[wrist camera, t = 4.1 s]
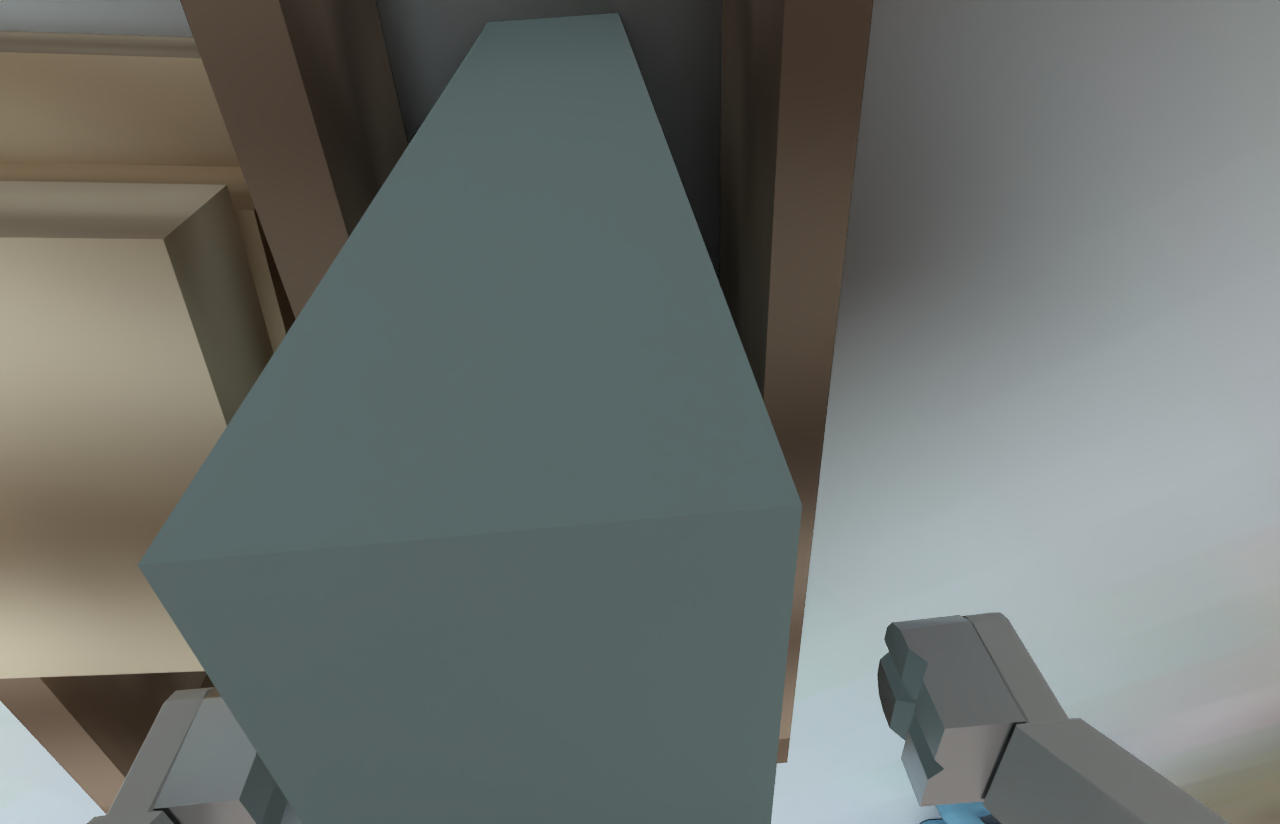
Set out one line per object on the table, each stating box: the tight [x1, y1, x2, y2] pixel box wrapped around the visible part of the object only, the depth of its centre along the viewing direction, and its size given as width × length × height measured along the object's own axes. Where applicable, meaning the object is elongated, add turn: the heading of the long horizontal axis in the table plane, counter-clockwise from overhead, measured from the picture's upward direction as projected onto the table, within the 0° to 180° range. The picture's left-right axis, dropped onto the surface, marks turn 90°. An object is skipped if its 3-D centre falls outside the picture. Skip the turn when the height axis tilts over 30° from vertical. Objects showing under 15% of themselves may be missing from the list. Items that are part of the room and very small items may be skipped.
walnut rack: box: [0, 0, 874, 814], centre depth 16 cm, size 21×18×5 cm
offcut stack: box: [0, 31, 296, 679], centre depth 15 cm, size 13×7×7 cm, turn 178°
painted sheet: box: [138, 13, 802, 824], centre depth 13 cm, size 14×2×14 cm, turn 3°
